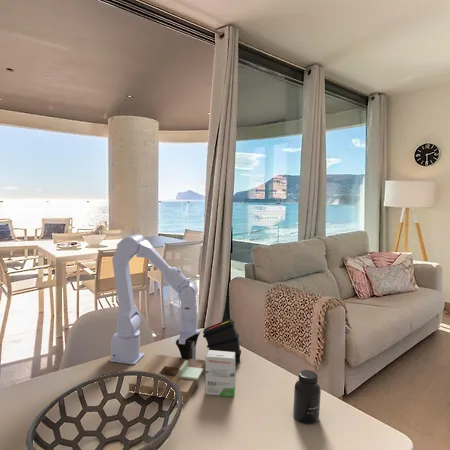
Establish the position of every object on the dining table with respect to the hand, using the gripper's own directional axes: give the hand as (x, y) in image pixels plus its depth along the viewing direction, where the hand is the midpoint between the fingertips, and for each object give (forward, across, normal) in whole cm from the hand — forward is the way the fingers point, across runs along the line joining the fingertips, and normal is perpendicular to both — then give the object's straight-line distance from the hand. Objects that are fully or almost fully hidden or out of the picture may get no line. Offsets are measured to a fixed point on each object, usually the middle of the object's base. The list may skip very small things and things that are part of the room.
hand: (188, 355), depth 122 cm
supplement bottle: (+3, -21, -40) cm, 45 cm away
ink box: (+3, -15, -15) cm, 21 cm away
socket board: (+2, -13, +2) cm, 13 cm away
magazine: (+3, +4, -11) cm, 12 cm away
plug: (+2, 0, 0) cm, 2 cm away
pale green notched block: (-1, -13, -5) cm, 14 cm away
